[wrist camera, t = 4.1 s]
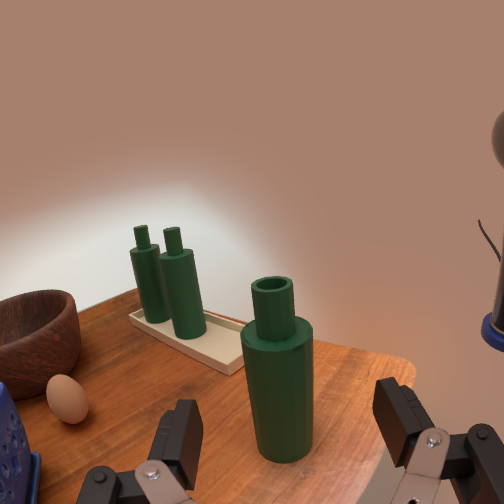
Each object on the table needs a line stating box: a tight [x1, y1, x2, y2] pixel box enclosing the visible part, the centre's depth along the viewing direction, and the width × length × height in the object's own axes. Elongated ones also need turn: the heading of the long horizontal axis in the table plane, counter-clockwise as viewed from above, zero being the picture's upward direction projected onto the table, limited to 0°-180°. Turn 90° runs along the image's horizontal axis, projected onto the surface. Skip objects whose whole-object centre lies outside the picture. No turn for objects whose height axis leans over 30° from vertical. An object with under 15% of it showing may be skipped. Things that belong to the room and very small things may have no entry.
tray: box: [129, 308, 245, 376], centre depth 52 cm, size 28×10×2 cm, turn 50°
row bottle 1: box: [130, 225, 171, 324], centre depth 56 cm, size 6×6×18 cm
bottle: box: [240, 276, 313, 463], centre depth 25 cm, size 6×6×18 cm
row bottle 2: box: [158, 227, 207, 340], centre depth 50 cm, size 6×6×18 cm
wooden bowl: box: [0, 290, 81, 400], centre depth 40 cm, size 25×25×10 cm
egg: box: [46, 375, 89, 424], centre depth 30 cm, size 5×5×7 cm
